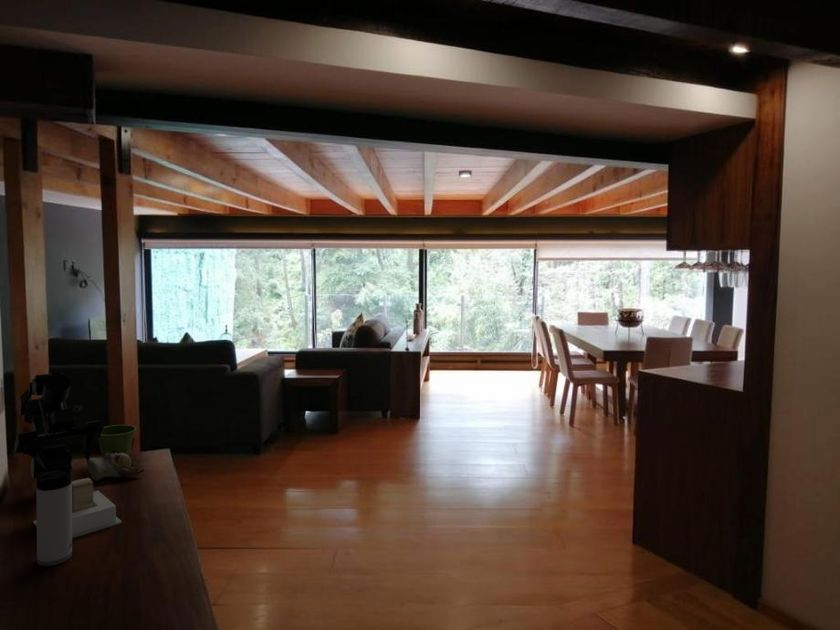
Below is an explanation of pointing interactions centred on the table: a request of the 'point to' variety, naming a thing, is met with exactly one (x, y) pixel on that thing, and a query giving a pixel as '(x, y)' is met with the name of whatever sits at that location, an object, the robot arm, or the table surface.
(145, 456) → the table surface
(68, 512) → the travel mug
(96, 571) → the table surface
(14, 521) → the table surface
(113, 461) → the ceramic sculpture
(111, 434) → the plant pot
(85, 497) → the birch peg
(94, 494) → the socket block
